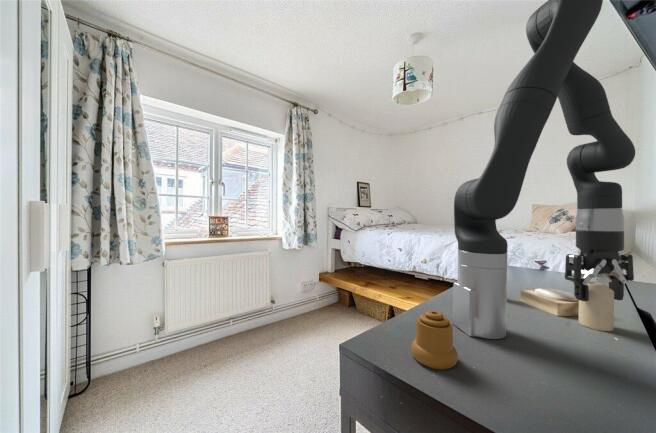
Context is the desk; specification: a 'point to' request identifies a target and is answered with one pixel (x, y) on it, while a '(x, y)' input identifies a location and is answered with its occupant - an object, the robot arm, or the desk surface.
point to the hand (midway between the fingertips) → (599, 299)
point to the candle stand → (552, 301)
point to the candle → (598, 308)
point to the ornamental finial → (434, 341)
